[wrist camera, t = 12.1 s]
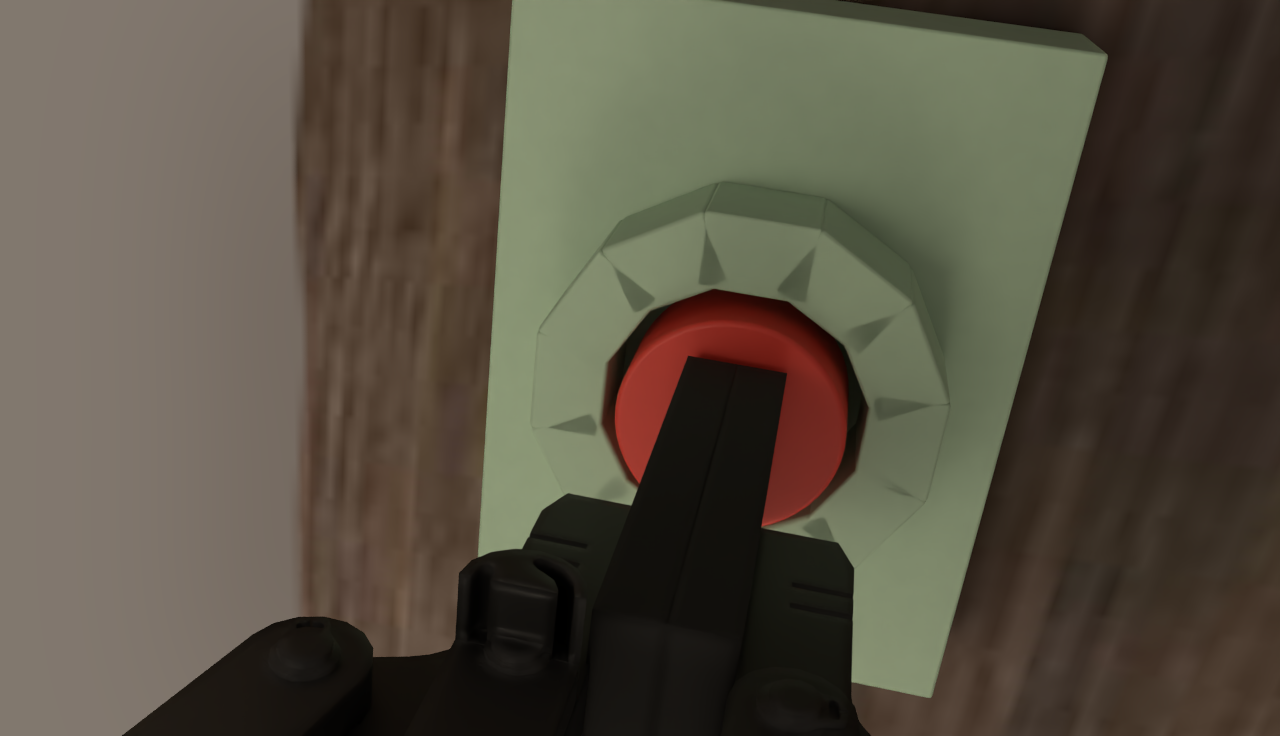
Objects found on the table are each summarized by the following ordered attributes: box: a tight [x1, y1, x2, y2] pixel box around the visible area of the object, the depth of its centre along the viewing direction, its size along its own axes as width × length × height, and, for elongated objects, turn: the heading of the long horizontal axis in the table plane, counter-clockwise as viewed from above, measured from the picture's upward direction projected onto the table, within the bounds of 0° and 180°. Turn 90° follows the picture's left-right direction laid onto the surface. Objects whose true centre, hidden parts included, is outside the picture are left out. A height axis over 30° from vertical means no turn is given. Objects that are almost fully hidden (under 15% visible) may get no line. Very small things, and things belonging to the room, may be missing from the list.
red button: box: [615, 289, 849, 527], centre depth 19 cm, size 4×4×2 cm
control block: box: [478, 0, 1108, 698], centre depth 20 cm, size 12×9×4 cm
